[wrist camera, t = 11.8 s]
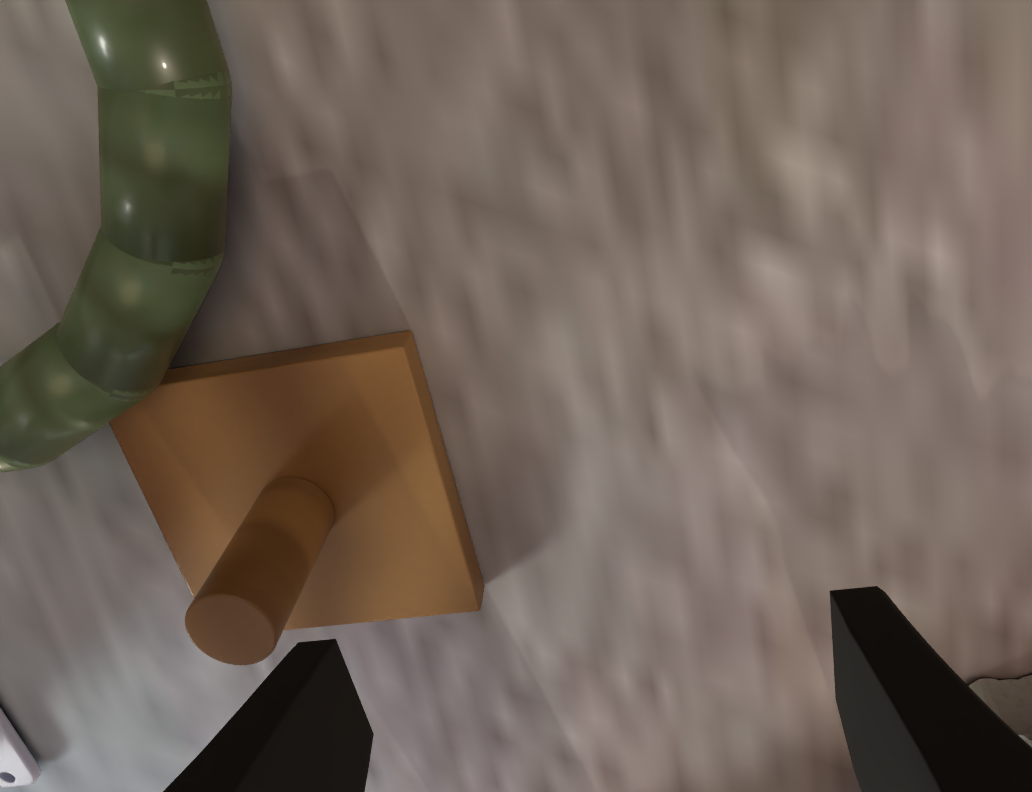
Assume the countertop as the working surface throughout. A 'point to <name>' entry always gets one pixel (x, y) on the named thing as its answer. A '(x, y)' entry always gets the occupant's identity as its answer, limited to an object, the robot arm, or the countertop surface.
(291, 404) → the ring stand
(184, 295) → the ring
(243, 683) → the countertop surface
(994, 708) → the egg carton
